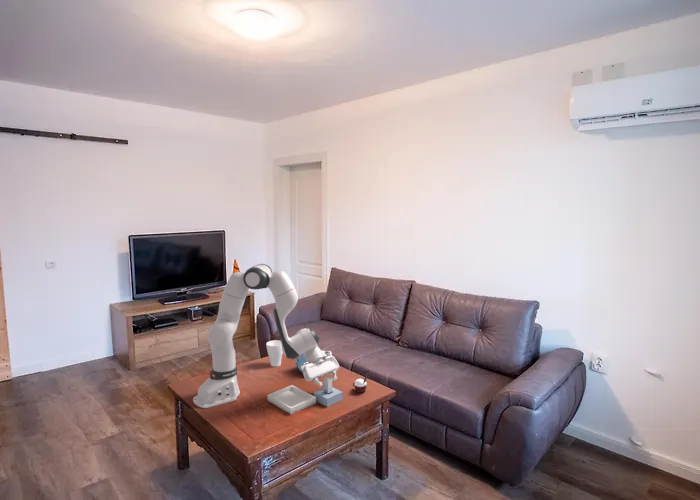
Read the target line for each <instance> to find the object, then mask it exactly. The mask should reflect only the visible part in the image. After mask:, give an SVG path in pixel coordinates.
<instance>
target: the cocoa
mask: <svg viewBox="0 0 700 500" xmlns="http://www.w3.org/2000/svg"><path fill="white" fill-rule="evenodd" d="M369 373H370V369H368V370H367V371H366V373H365V376H364V379H362V378H358V379H356V380H355V381H354V382H353V383H352V386H353V387H354V389H355V391H356V392H357V393H364V392H366V389H367V385H368V383H367V382H366V381H367V378H368V375H369Z"/></svg>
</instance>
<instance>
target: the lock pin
mask: <svg viewBox="0 0 700 500" xmlns="http://www.w3.org/2000/svg"><path fill="white" fill-rule="evenodd" d="M332 378H333V377H330V376H326V377H323V388H324V393H325V394H330V393H332V387H333V379H332Z"/></svg>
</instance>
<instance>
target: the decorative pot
mask: <svg viewBox="0 0 700 500" xmlns="http://www.w3.org/2000/svg"><path fill="white" fill-rule="evenodd" d="M295 359H296V361H295V362H294V365H295V366H296V367H297V368H298V370H299V371H300V372H301V373H303V372H302V370H301V368H300V366H301V365H302V363H305V362H307V361H306V359H305V357H304V354H301V355H300V356H298V357H297V358H295Z"/></svg>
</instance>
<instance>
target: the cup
mask: <svg viewBox="0 0 700 500" xmlns="http://www.w3.org/2000/svg"><path fill="white" fill-rule="evenodd" d="M265 345H266V350H267V355H268V357H269V363H270V366H271V367H273V368H274V367H275V368H276V367H280V366H281V365H282V358H283V355H284V353H283V351H282V344H281V340H280V339H279V340H277V339H274V340H270V341H267V342H266V344H265Z"/></svg>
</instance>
